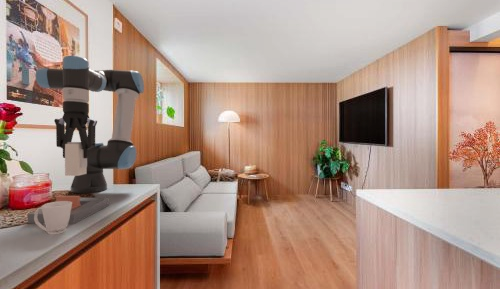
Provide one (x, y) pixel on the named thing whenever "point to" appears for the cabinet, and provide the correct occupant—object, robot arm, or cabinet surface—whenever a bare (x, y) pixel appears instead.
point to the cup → (55, 216)
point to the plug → (73, 159)
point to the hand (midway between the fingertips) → (76, 167)
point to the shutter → (73, 199)
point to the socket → (76, 210)
